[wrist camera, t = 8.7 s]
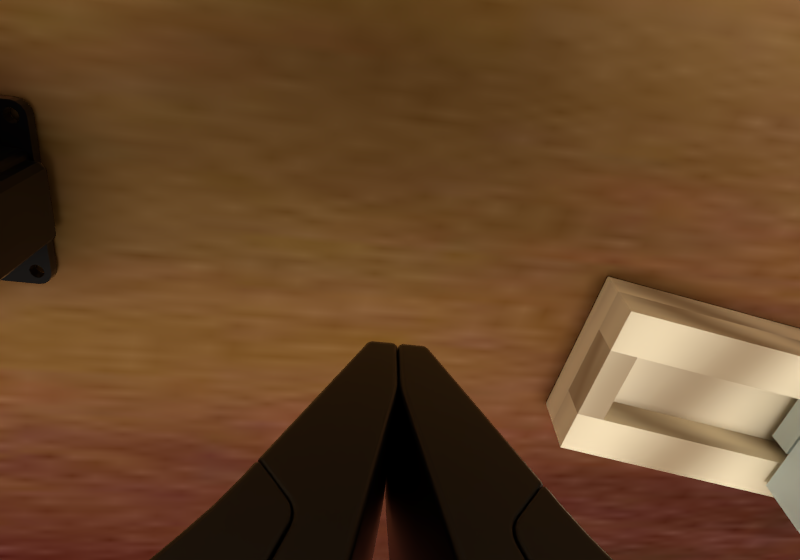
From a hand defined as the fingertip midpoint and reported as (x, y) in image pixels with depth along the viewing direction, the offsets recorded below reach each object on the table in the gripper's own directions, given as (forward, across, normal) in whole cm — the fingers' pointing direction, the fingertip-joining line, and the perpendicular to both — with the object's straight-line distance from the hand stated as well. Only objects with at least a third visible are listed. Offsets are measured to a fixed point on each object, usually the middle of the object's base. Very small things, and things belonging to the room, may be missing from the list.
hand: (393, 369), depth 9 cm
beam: (+13, -18, +9) cm, 23 cm away
